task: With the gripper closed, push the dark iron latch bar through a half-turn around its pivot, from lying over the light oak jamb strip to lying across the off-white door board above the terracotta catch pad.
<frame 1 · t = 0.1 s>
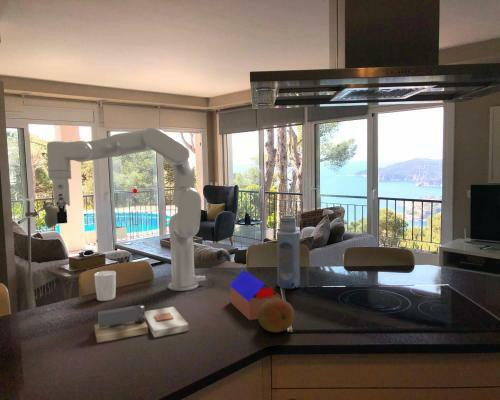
hand: (62, 221, 145), 31 cm above the kitchen island, tool pointing down, fingers open, 9 cm apart
white cup: (106, 298, 153), on the kitchen island
fruit: (274, 330, 119), on the kitchen island
latch bar: (122, 316, 120), point 5 cm above the kitchen island, hinge at 0.0°
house: (254, 309, 139), on the kitchen island
door and jamb: (140, 328, 123), on the kitchen island
bottle: (288, 285, 166), on the kitchen island
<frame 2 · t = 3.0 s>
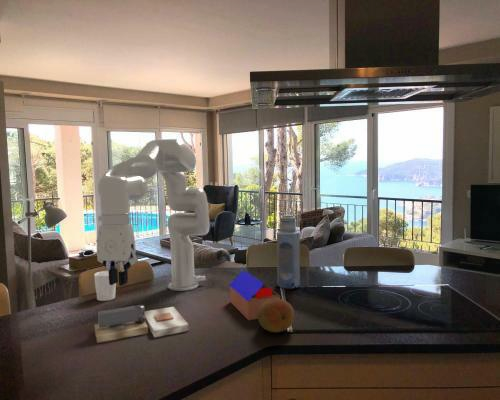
hand: (118, 283, 112), 17 cm above the kitchen island, tool pointing down, fingers closed
nothing on the kitchen island moved.
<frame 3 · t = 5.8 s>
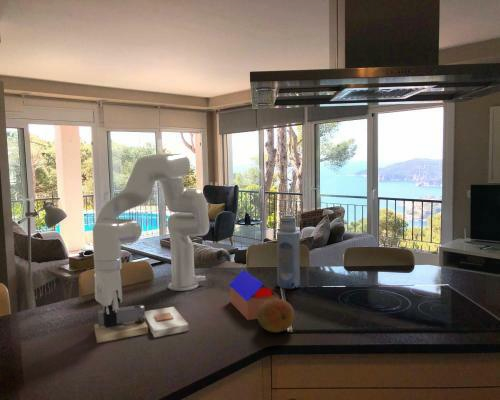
hand: (110, 325, 116), 4 cm above the kitchen island, tool pointing down, fingers closed
latch bar: (122, 316, 121), point 5 cm above the kitchen island, hinge at -5.4°, touching gripper
everything else where it was.
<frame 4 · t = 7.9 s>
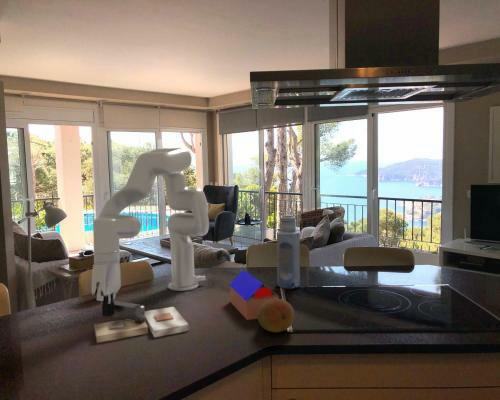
hand: (108, 315, 123), 4 cm above the kitchen island, tool pointing down, fingers closed
latch bar: (126, 311, 125), point 5 cm above the kitchen island, hinge at -50.6°, touching gripper
everything else where it was.
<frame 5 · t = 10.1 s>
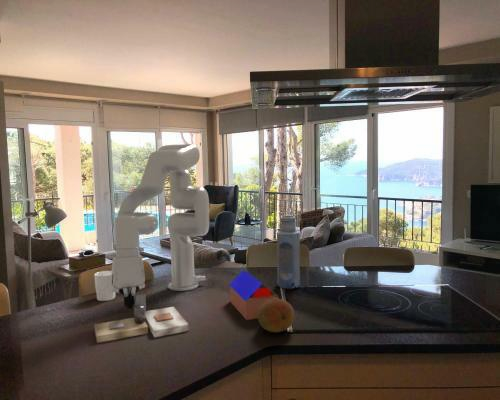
hand: (129, 307, 130), 4 cm above the kitchen island, tool pointing down, fingers closed
latch bar: (140, 308, 127), point 5 cm above the kitchen island, hinge at -102.7°, touching gripper
everything else where it was.
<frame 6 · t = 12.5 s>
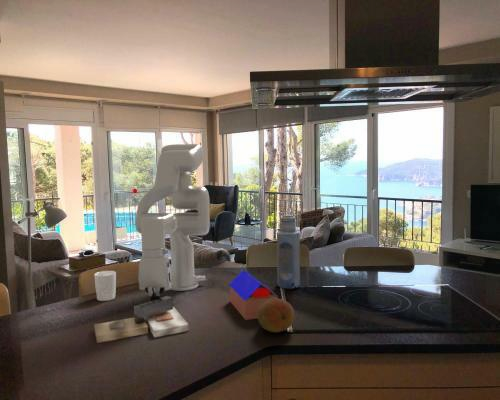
hand: (155, 306, 132), 4 cm above the kitchen island, tool pointing down, fingers closed
latch bar: (153, 309, 126), point 5 cm above the kitchen island, hinge at -155.2°, touching gripper
everything else where it was.
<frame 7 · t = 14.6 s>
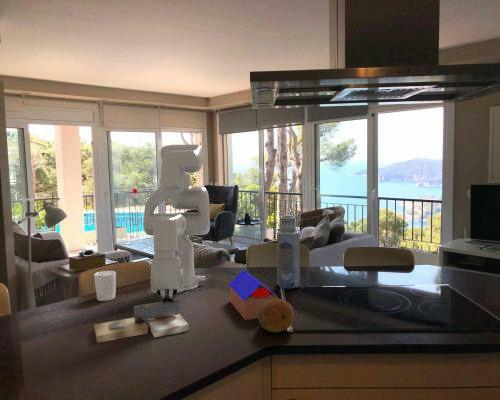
hand: (168, 308, 129), 4 cm above the kitchen island, tool pointing down, fingers closed
latch bar: (156, 311, 124), point 5 cm above the kitchen island, hinge at -182.3°
everything else where it was.
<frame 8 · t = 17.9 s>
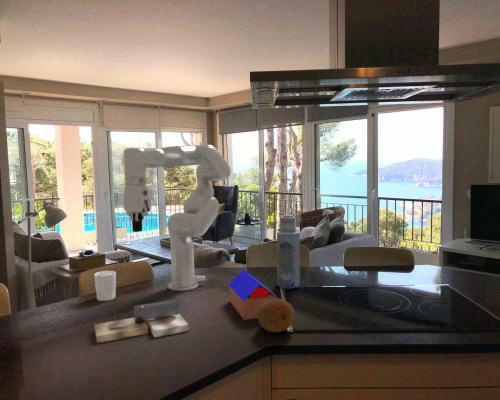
hand: (137, 231, 145), 27 cm above the kitchen island, tool pointing down, fingers closed
nothing on the kitchen island moved.
at the end: latch bar at -182° (first picture: +0°) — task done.
